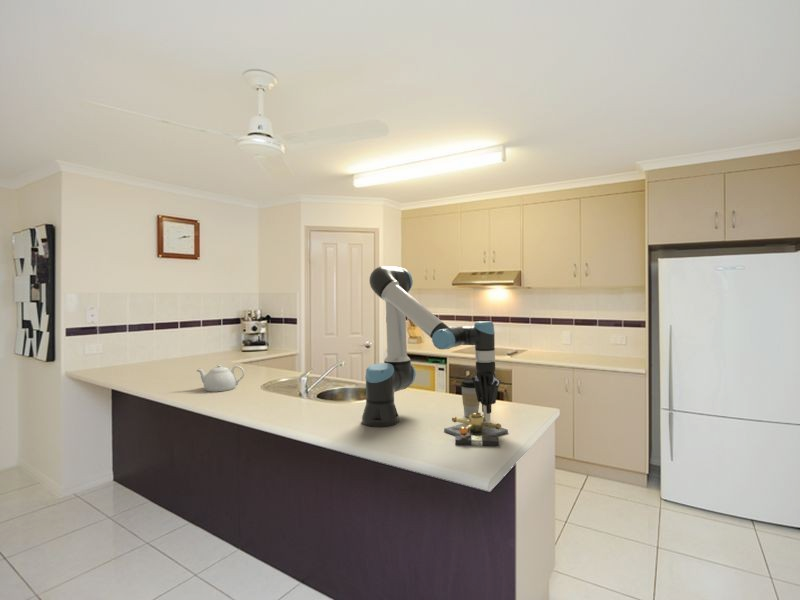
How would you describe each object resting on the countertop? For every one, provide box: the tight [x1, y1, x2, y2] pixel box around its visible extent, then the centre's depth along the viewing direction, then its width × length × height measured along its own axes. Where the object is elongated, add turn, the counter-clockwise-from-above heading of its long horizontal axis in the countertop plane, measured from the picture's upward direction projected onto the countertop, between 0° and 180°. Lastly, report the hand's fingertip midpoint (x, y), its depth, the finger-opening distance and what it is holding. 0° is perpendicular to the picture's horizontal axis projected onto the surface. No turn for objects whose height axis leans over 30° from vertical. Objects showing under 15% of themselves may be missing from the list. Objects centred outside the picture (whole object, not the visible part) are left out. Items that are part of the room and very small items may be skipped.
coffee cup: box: [459, 378, 481, 418], centre depth 193 cm, size 9×9×15 cm
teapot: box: [196, 364, 245, 393], centre depth 249 cm, size 19×18×14 cm
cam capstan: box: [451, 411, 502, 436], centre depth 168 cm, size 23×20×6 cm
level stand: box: [443, 423, 509, 447], centre depth 165 cm, size 25×24×2 cm
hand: (487, 421), depth 174 cm, fingers closed
